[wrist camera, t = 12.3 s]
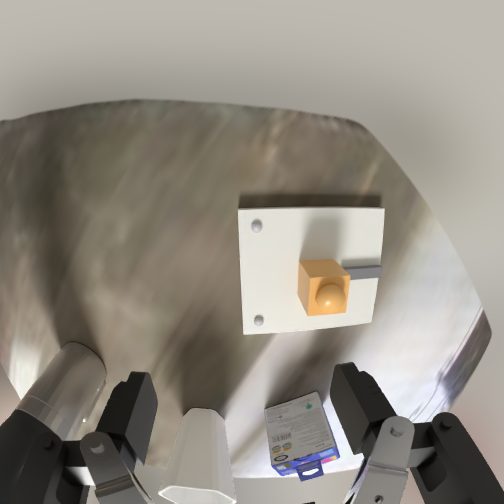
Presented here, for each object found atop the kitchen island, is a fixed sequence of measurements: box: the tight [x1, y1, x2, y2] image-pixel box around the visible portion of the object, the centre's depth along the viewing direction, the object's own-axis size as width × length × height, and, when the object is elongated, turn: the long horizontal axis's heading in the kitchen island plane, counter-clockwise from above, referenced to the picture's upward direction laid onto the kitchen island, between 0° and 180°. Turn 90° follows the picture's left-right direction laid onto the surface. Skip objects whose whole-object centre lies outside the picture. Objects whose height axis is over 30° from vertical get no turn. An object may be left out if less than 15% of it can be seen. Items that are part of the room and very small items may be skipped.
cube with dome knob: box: [297, 259, 350, 316], centre depth 30 cm, size 4×4×6 cm
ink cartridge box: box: [264, 392, 340, 481], centre depth 34 cm, size 10×6×14 cm, turn 113°
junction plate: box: [238, 207, 385, 335], centre depth 31 cm, size 16×18×6 cm
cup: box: [158, 408, 237, 504], centre depth 33 cm, size 11×10×17 cm
